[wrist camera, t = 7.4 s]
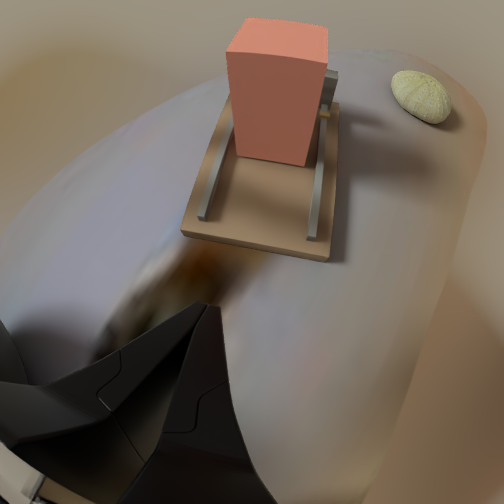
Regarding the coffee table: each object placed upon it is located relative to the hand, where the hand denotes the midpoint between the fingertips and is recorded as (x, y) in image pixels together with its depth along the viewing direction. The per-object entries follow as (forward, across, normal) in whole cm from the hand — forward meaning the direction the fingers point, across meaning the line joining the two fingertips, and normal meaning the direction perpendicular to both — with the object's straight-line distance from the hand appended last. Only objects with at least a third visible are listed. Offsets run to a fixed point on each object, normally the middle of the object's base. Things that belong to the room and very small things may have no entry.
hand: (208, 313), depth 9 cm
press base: (+20, 0, -2) cm, 20 cm away
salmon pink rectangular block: (+20, 0, -5) cm, 20 cm away
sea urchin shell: (+32, -18, -14) cm, 39 cm away
